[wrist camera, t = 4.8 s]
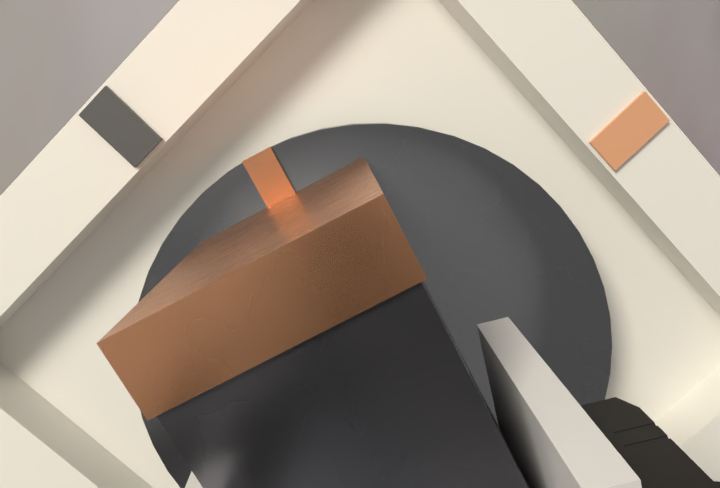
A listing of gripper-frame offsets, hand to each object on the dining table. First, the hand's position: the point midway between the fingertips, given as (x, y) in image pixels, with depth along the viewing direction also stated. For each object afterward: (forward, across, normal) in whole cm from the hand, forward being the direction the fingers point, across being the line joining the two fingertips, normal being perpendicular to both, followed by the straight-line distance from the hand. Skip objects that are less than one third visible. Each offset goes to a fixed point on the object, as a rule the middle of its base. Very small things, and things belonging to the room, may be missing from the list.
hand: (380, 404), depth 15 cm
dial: (+4, 0, 0) cm, 4 cm away
